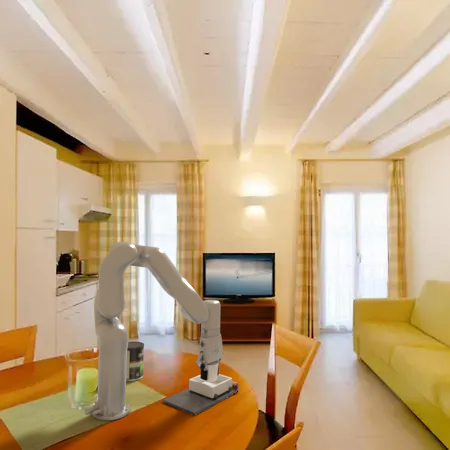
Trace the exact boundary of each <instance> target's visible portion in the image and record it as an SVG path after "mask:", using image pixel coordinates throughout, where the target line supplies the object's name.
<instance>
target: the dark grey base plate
mask: <svg viewBox="0 0 450 450" xmlns="http://www.w3.org/2000/svg"><path fill="white" fill-rule="evenodd" d="M239 389H240V388H239V382H236V381H233V380H232V390H231V391H230V390H228V391H226V392H224V393H222V394H220V395H218V397H217V398H215V397H214V398H210V397H208V396H205V395H202V394H199V393H197V392H194V391H191V390H189V387H188V388H186V389H183V390H182V391H178V392H177V393H175V394H173V395H170V396H169V397H165V398H163V399H162V402H163V404H166V405H168V406H171V407H173V408H176V409H178V410H180V411H183V412H185V413H187V414H189V415H192V416H197V415H199V414H201V413H202V412H205V411H206V410H207V409H210V408H212V407H213V406H215V405H216V404H219V403H220V401H221V402H222V400H223V401H224V400H227V399H228V398H230V397H232V396H233V395H232V394H234V393H235V394H237V393H238V392H239ZM237 391H238V392H237ZM236 392H237V393H236ZM235 394H234V395H235ZM231 395H232V396H231ZM229 396H230V397H229ZM227 397H228V398H227ZM218 402H219V403H218ZM200 412H201V413H200ZM198 413H199V414H198ZM196 414H197V415H196Z"/></svg>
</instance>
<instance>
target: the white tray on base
mask: <svg viewBox="0 0 450 450" xmlns="http://www.w3.org/2000/svg"><path fill="white" fill-rule="evenodd" d="M200 376H201V374H199V375H197V376H194V377H192V378H191V377H190V378H189V380H188V388H189V390H191V391H194V392H197V393H199V394H202V395H205V396H208V397H210V398H214V397H215V398H217V397H218V395H220V394H222V393H224V392H226V391H228V390H230V391H231V390H232V381H233V378H232V377H230V376H227V375H224V374H220V373H219V375H218V376H217V380H216V381H214V382H205V381H203V380H202V379H201V378H200Z"/></svg>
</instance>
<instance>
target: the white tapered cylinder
mask: <svg viewBox="0 0 450 450" xmlns="http://www.w3.org/2000/svg"><path fill="white" fill-rule="evenodd" d="M218 363H219V362H218V361H214V362H212V363H209V364H208V365H207V370H208V379H207V380H206V381H205V380H203V381H205V382H214V381H216V380H217V373H218ZM203 365H204V366H205V363H203Z"/></svg>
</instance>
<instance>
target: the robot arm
mask: <svg viewBox="0 0 450 450" xmlns="http://www.w3.org/2000/svg"><path fill="white" fill-rule="evenodd" d="M108 250H109V251H108V253H107V254H106V256H105V257H104V258H103V260H102V262H101V264H100V266H99V270H98V292H97V293H96V295H95V297H94V302H93V310H94V329H95V335H96V337H97V340H98V341H99V350H98V367H97V369H98V371H97V373H98V374H97V400H96V401H94V405H92V406H91V407H88V408H86V409H84V410H83V412H84V415H85V416H88V415H91V414H92V416H93V418H95V419H97V420H100V421H113V420H114V421H115V420H118V419H119V420H120V419H122V418H123V417H125V416H127V415H128V414H129V413H130V411H131V406H130V405H129V403H128V402H127V401H126V399H127V381H126V362H127V348H128V342H129V337H130V336H129V332H128V329H127V327H126V326H125V325H124V323H122V314H123V313H124V311H125V308H126V305H125V304H126V302H125V291H124V290H125V289H124V288H125V287H124V281H125V280H124V276H125V274H126V273H125V272H126V270H127V269H128V267H137V268H147V269H148V270H149V272H150V273H151V274H152V276H153V277H154V278H155V280H156V281H157V282H158V284H159V285H160V287H161V288H162V289H163V291H165V293H166V294H167V295H168V296H170V297H171V298H173V299H174V300H176V302H178V304H179V305H180V306H181V308H180V313H181V315H182V316H183V318H185V319H186V320H189V321H190V322H193V323H194V324H197V325H201V326H200V327H201V328H200V329H201V331H200V337H199V344H198V357H197V358H196V359H197V360H196V361H195V364H196V365H197V367H198V368H199V370H200V375H201V376H200V378H201V379H202V380H205V381H206V380H207V379H208V370H207V365H208V364H209V363H212V362H214V361H218V362H219V363H218V373H217V376H218V375H219V374H220V373H219V370H220V368H219V367H220V363H221V360H222V358H223V356H224V352H223V339H222V334H221V302H220V301H219V300H216V299H205V300H203V299H202V298H201V296H200V295H199V294H198V292H197V291H196V290H195V288H193V287H192V285H191V284H190V283H189V281H187V280H186V279H185V278H184V277H183V275H182V274H181V273H180V271H179V269H178V268H177V267H176V266H175V264H174V263H173V262H172V260H171V259H170V257H169V256H168V255H167V254H166V252H165V251H164V250H163V249H162V248H160V247H156V246H151V245H150V246H148V245H143V244H142V245H141V244H137V243H136V244H135V243H131V242H127V241H118V242H115V243H113V244H112V245H111V246H110V247H109V249H108ZM203 363H205V366H204V365H203Z"/></svg>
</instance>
